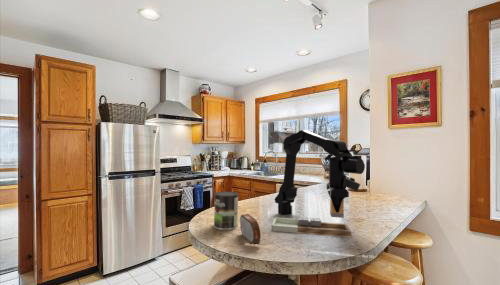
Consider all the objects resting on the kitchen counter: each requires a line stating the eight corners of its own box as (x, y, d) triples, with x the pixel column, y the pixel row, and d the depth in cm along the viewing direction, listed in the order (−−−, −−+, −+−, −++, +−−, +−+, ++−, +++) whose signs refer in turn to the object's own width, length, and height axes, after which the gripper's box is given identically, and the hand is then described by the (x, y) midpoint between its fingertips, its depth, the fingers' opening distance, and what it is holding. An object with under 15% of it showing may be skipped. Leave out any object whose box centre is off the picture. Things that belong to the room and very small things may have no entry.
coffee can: (224, 232, 94) (225, 196, 94) (209, 226, 101) (209, 193, 101) (243, 226, 101) (243, 193, 102) (227, 221, 108) (227, 190, 109)
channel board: (296, 234, 92) (296, 228, 92) (297, 225, 103) (297, 219, 103) (352, 239, 87) (352, 232, 87) (346, 229, 99) (346, 223, 99)
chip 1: (298, 229, 95) (298, 219, 95) (298, 226, 99) (298, 216, 99) (308, 230, 94) (308, 220, 95) (308, 227, 98) (308, 217, 98)
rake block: (331, 216, 93) (331, 196, 93) (330, 213, 97) (330, 194, 97) (343, 217, 91) (343, 197, 92) (341, 214, 96) (341, 194, 96)
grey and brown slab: (261, 246, 80) (261, 221, 80) (252, 248, 79) (252, 222, 79) (246, 232, 94) (246, 211, 94) (238, 233, 93) (238, 211, 93)
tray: (271, 232, 94) (271, 225, 94) (274, 223, 105) (274, 217, 105) (297, 234, 92) (297, 227, 92) (298, 225, 103) (298, 218, 103)
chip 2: (310, 230, 94) (310, 220, 94) (310, 227, 98) (310, 217, 98) (321, 231, 93) (320, 221, 94) (320, 228, 97) (320, 218, 97)
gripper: (363, 174, 84) (364, 219, 83) (353, 170, 102) (353, 206, 102) (331, 173, 86) (331, 216, 86) (326, 169, 104) (326, 204, 104)
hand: (336, 210), depth 94 cm, fingers closed on rake block, 4 cm apart
